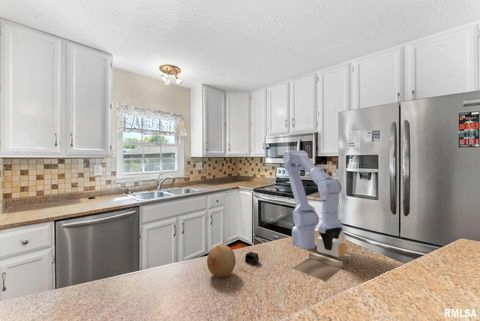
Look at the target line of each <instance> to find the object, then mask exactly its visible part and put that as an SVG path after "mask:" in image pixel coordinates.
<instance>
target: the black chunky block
mask: <svg viewBox="0 0 480 321" xmlns="http://www.w3.org/2000/svg"><path fill="white" fill-rule="evenodd" d="M244 261H245V263H247V262H249V261H251V262H253V265H254V266H256V265H257V264H259V263H260V258H259V253H256V252H252V251H249V252H247V253H246V254H245V256H244Z"/></svg>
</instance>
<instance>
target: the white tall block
mask: <svg viewBox="0 0 480 321" xmlns="http://www.w3.org/2000/svg"><path fill="white" fill-rule="evenodd" d="M343 240H344V239H343ZM343 240H342V239H339V238H338V239H335V238H333V241H332V249H331V251H330V250H326V249H325V247H324V243H323V240H322V237H321V235H320V236H318V237H316V246H317V247H316V252H317V253H318V252H322V253H325V254H329V255H332V256H336V257H340V256H341V255H343V256H344V255H345V254H348V245H347V243H344V242H343Z"/></svg>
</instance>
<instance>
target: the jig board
mask: <svg viewBox="0 0 480 321" xmlns="http://www.w3.org/2000/svg"><path fill="white" fill-rule="evenodd" d="M352 260H353V258H352V255H351V254H348V253H346V254H345V255H344V256H343V255H341V256H340V257H336V256H332V255H329V254H325V253H322V252H318V251H317V252H316V253H315V252H312V251H310V252H308V258H307V259H305V260H303V261H301V262H300V263H298V264H296V265H295V266H292V269H294V270H295V271H298V272H301V273H304V274H306V275H308V276H311V277H313V278H316V279H319V280H321V281H324V282H327V281H329V280H330V278H332V277H333V276H334V275H335V274H337V273H338V272H339V271H340V270H341V269H343V268H344V267H345V266H346V265H348V263H350V262H351V261H352Z"/></svg>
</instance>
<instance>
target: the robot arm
mask: <svg viewBox="0 0 480 321" xmlns="http://www.w3.org/2000/svg"><path fill="white" fill-rule="evenodd" d="M282 161H283V164H284V168H285V170H286V172H287V176H288V179H289V182H290V183H289V184H290V187H291V190H292V194H293V197H294V202H295V207H294V209H293V210H292V221H293V225H294V226H293V227H292V230H291V245H292V246H296V247H298V248H300V249H305V250H313V249H315V248H316V236H315V235H316V230H315V229H316V228H317V226H318V225H319V222H320V217H319V215H318V213H317V212H316V208H315V207H313V206H312V205H311V204H309V202H308V198H307V197H308V196H307V195H306V191H305V188H304V185H303V182H302V177H301V175H300V171H301V170H302V169H303V168H304V169H305V170H306V171H307V172H308V173H309V178H310V179H311V180H312V181H313V183H314V184H315V185H316V186H317V189H318V193H319V197H320V199H321V223H320V225H319V226H318V234H319V235H320V236H321V237H322V240H323V243H324V247H325V249H326V250H330V251H331V249H332V241H333V238H335V239H339V238H340V235H341V233H342V231H343V224H342V220H341V219H339V194H340V193H341V192H342V184H341V182H340V180H339V179H338V178H333V177H331V176H330V175H329V174H328V173H327V172H326V171H324V168H323V167H320V166H316V165H315V164H314V162H312V160H311V159H310V158H309V153H308V152H306V151H305V150H290V149H289V150H288V149H287V150H285V152H284V153H283V157H282Z"/></svg>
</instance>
